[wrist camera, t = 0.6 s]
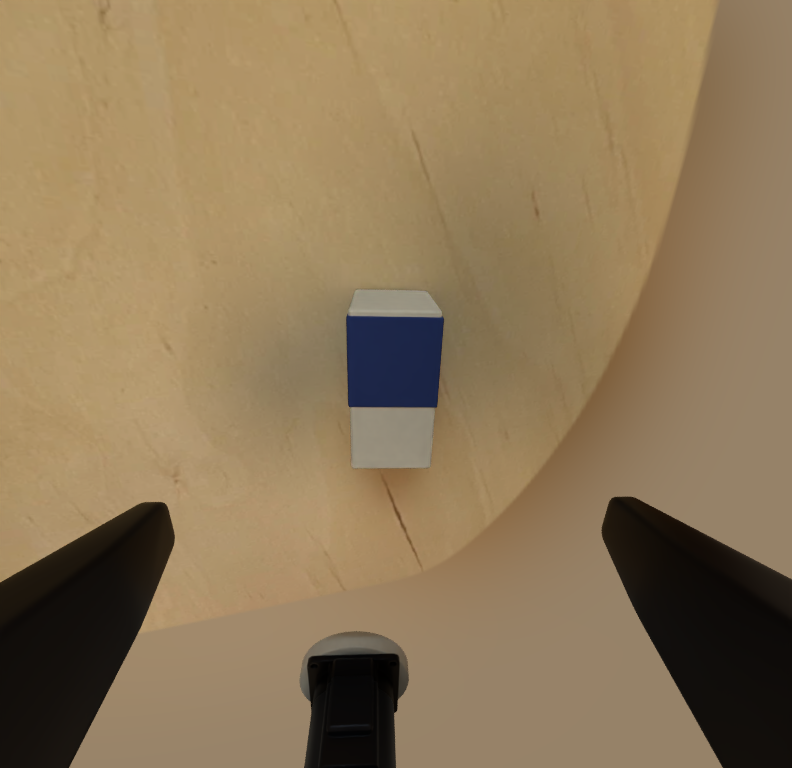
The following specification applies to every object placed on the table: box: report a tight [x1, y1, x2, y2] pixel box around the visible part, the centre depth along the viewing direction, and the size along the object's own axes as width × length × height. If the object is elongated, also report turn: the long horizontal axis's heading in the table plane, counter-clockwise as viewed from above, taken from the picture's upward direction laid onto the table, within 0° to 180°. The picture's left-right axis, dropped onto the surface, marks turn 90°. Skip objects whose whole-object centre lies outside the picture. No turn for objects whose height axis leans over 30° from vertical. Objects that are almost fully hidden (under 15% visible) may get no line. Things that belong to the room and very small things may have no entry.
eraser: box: [346, 289, 444, 469], centre depth 15 cm, size 6×3×4 cm, turn 178°
